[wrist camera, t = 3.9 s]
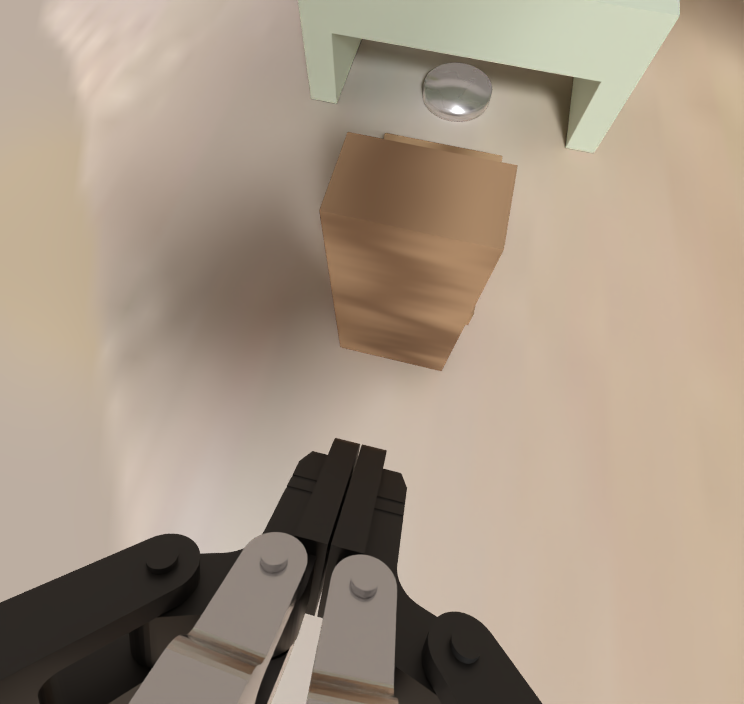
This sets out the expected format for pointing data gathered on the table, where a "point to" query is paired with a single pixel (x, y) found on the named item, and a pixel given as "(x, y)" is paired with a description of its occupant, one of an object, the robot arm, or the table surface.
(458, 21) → the pale green bench
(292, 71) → the table surface
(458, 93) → the disc
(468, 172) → the brown wooden block
